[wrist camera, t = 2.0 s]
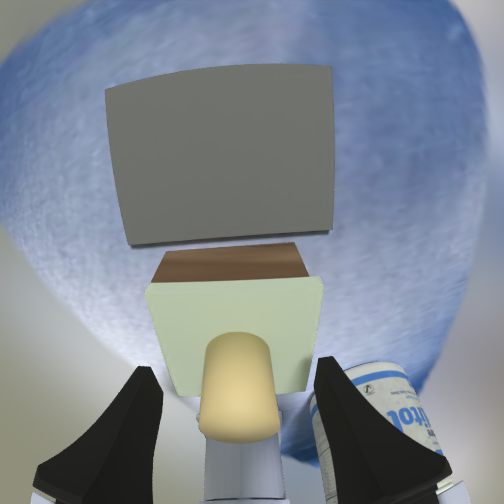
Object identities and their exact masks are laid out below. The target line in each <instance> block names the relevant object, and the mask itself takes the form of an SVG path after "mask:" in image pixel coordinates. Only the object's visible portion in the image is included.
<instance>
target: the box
mask: <svg viewBox="0 0 504 504" xmlns="http://www.w3.org/2000/svg"><path fill="white" fill-rule="evenodd" d="M299 277H309V275H308V272H307V270H306V268H305V265H304V263H303V261H302V258H301V256H300V254H299V252H298V249H297V247H296V245H295V243H294V242H288V243H273V244H259V245H245V246H231V247H217V248H204V249H191V250H178V251H166V253H165V255H164V257H163V259H162V261H161V263H160V265H159V267H158V269H157V271H156V273H155V275H154V277H153V279H152V281H151V283H173V282H210V281H237V280H260V279H281V278H299Z"/></svg>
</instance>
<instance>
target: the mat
mask: <svg viewBox="0 0 504 504" xmlns="http://www.w3.org/2000/svg"><path fill="white" fill-rule="evenodd" d="M105 102H106V115H107V126H108V136H109V145H110V152H111V160H112V166H113V173H114V179H115V185H116V190H117V196H118V201H119V206H120V211H121V216H122V220H123V225H124V229H125V233H126V238H127V242H128V245H137V244H148V243H159V242H171V241H182V240H194V239H207V238H219V237H232V236H246V235H260V234H274V233H289V232H304V231H320V230H333V212H334V181H335V132H334V103H333V85H332V71H331V66H321V65H306V64H245V65H230V66H219V67H209V68H201V69H194V70H187V71H181V72H175V73H169V74H164V75H159V76H154V77H150V78H146V79H141V80H137V81H133V82H129V83H126V84H122V85H118V86H115V87H112V88H108V89H105Z"/></svg>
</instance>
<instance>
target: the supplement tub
mask: <svg viewBox="0 0 504 504" xmlns="http://www.w3.org/2000/svg"><path fill="white" fill-rule="evenodd" d="M344 372H345V374H346V375H347V376H348V378H349V379H350V380H351V382H352V383H353V384H354V385H355V386H356V388H357V389H358V390H359V391H360V392H361V394H362V395H363V396H364V397H365V398H366V399H367V400H368V401H369V402H370V403H371V405H372V406H373V407H374V408H375V409H376V410H377V411H378V412H379V413H380V414H382V415H383V416H384V417H385V418H386V419H387V420H388V421H389V422H390V423H392V424H393V425H394V426H395V427H397V428H398V429H399V430H401V431H402V432H403V433H405V434H406V435H408V436H409V437H411V438H412V439H414V440H415V441H417V442H418V443H420V444H422V445H423V446H425V447H427V448H429V449H431V450H433V451H434V452H437V453H439V454H441V455H443V453H442V451H441V448H440V446H439V443H438V441H437V439H436V437H435V434H434V432H433V429H432V427H431V425H430V423H429V420H428V418H427V416H426V414H425V412H424V410H423V408H422V405H421V403H420V401H419V399H418V397H417V395H416V393H415V391H414V389H413V387H412V385H411V383H410V381H409V379H408V377H407V375H406V373H405V371H404V370H403V369H402V368H401V367H400V366H399V365H397V364H395V363H392V362H384V361H383V362H373V363H367V364H363V365H359V366H356V367H353V368H350V369H348V370H346V371H344ZM310 415H311V419H312V425H313V430H314V435H315V441H316V446H317V452H318V457H319V463H320V469H321V474H322V480H323V486H324V492H325V498H326V504H338V501H337V491H336V483H335V475H334V468H333V462H332V456H331V451H330V447H329V443H328V440H327V437H326V433H325V430H324V427H323V424H322V420H321V417H320V414H319V410H318V407H317V402H316V397H315V394H314V396H313V397H312V400H311V402H310ZM437 486H438V490H437V491H436V494H439V493H441V492H443V491H445V490H447V489H449V488H450V487H452V486H453V482H452V478H451V475H450V476H448V477H447V478H445V479H444V480H442V481H440V482H439V483H437Z"/></svg>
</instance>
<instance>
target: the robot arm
mask: <svg viewBox="0 0 504 504" xmlns="http://www.w3.org/2000/svg"><path fill="white" fill-rule="evenodd" d="M314 391H315V397H316V402H317V407H318V410H319V414H320V417H321V420H322V424H323V427H324V430H325V433H326V437H327V440H328V443H329V447H330V451H331V456H332V462H333V468H334V475H335V483H336V491H337V501H338V504H471V501H470V498H469V495H468V492H467V489H466V487H465V484H464V481H460V482H459V483H457V484H455V485H454V486H452V487H450V488H449V489H447V490H445V491H443V492H441V493H439V494H436V491H437V490H438V486H437V483H439V482H440V481H442V480H444V479H445V478H447V477H448V476H450V475H451V474H452V469H451V467H450V464H449V462H448V461H447V459H446V457H445V456H443V455H441V454H439V453H437V452H434V451H433V450H431V449H429V448H427V447H425V446H423V445H422V444H420V443H418V442H417V441H415V440H414V439H412V438H411V437H409V436H408V435H406V434H405V433H403V432H402V431H401V430H399V429H398V428H397V427H395V426H394V425H393V424H392V423H390V422H389V421H388V420H387V419H386V418H385V417H384V416H383V415H382V414H380V413H379V412H378V411H377V410H376V409H375V408H374V407H373V406H372V405H371V403H370V402H369V401H368V400H367V399H366V398H365V397H364V396H363V395H362V394H361V392H360V391H359V390H358V389H357V388H356V386H355V385H354V384H353V383H352V382H351V380H350V379H349V378H348V376H347V375H346V374H345V372H344V371H343V370H342V368H341V367H340V365H339V364H338V363H337V361H336V360H335V358H334V357H333V356H329V357H323V358H318V363H317V369H316V375H315V380H314ZM162 406H163V391H162V389H161V387H160V385H159V383H158V381H157V379H156V377H155V375H154V373H153V371H152V369H151V367H147V366H138V367H137V368H136V369H135V371H134V372H133V374H132V375H131V376H130V378H129V380H128V381H127V382H126V384H125V385H124V386H123V388H122V389H121V391H120V392H119V393H118V395H117V396H116V397H115V399H114V400H113V401H112V403H111V404H110V405H109V406H108V408H107V409H106V410H105V411H104V413H103V414H102V415H101V416H100V417H99V418H98V420H97V421H96V422H95V423H94V424H93V425H92V426H91V427H90V428H89V429H88V430H87V431H86V432H85V433H84V434H83V435H82V436H81V437H80V438H78V439H77V440H76V441H75V442H74V443H73V444H71V445H70V446H69V447H67V448H66V449H64V450H63V451H62V452H60V453H59V454H57V455H56V456H54V457H52V458H51V459H49V460H47V461H45V462H43V463H42V464H40V465H38V468H37V471H36V474H35V478H34V481H33V487H35V488H36V489H38V490H40V491H42V492H44V493H45V494H47V495H49V496H51V497H53V498H55V499H56V502H53V501H51V500H49V499H47V498H45V497H43V496H41V495H39V494H38V493H36V492H33V494H32V498H31V503H30V504H153V494H152V473H153V457H154V449H155V445H156V440H157V434H158V430H159V425H160V420H161V415H162ZM278 413H279V421H280V429H279V430H278V432H277V433H276V434H274V435H273V436H271V437H269V438H267V439H265V440H262V441H258V442H253V443H244V444H234V443H225V442H220V441H216V440H213V439H211V438H209V437H207V436H205V437H206V459H205V483H204V487H205V488H204V501H200V504H290V499H286V496H285V486H284V478H283V471H282V462H281V453H280V446H281V431H282V411H279V410H278ZM199 415H200V414H198V415H197V418H196V419H197V421H198V423H199Z"/></svg>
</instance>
